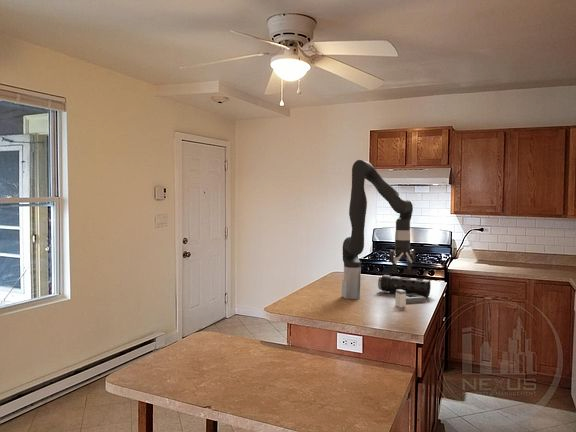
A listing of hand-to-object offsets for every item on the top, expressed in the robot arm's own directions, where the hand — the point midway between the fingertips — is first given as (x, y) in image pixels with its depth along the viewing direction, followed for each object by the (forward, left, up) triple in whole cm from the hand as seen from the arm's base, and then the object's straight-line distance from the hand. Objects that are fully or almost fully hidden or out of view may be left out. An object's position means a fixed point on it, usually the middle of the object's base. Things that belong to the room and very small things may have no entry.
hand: (402, 270), depth 221 cm
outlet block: (+12, +9, -18) cm, 23 cm away
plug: (0, 0, -18) cm, 18 cm away
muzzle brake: (+15, +22, -19) cm, 33 cm away
